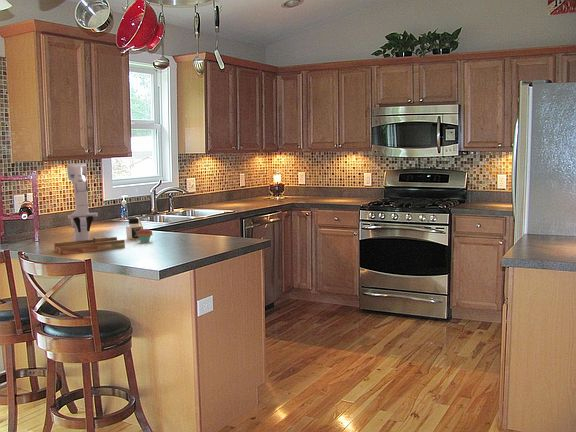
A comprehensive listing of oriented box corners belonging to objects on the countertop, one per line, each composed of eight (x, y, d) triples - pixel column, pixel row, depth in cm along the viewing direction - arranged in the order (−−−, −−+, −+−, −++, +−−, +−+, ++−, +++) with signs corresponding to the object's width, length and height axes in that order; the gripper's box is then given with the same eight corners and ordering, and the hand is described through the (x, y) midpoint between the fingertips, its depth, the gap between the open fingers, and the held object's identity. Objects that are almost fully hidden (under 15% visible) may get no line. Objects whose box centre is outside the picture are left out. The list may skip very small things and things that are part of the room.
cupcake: (137, 243, 342) (135, 221, 341) (136, 241, 350) (135, 219, 349) (153, 242, 344) (152, 220, 343) (152, 240, 353) (151, 218, 351)
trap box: (54, 251, 324) (54, 243, 324) (116, 244, 341) (116, 236, 341) (61, 254, 312) (60, 246, 312) (124, 247, 329) (124, 239, 329)
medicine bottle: (132, 239, 356) (130, 218, 354) (126, 238, 361) (125, 217, 360) (143, 238, 360) (142, 217, 359) (138, 237, 366) (136, 216, 364)
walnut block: (93, 243, 330) (92, 237, 330) (104, 242, 334) (104, 236, 333) (96, 244, 325) (95, 238, 325) (107, 243, 328) (107, 237, 328)
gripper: (69, 206, 316) (71, 233, 317) (98, 204, 323) (100, 231, 325) (66, 205, 322) (68, 232, 323) (94, 203, 329) (96, 229, 331)
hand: (84, 231), depth 324 cm, fingers open, 4 cm apart
